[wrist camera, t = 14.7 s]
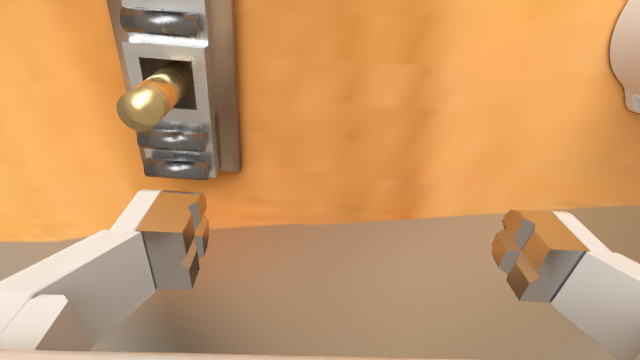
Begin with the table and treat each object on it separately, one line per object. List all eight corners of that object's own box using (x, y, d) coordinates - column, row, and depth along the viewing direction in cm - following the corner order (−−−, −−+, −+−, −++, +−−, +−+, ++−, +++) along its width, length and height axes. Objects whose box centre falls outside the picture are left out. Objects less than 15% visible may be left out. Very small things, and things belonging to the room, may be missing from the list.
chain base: (232, -51, 30) (228, -51, 29) (241, 165, 42) (239, 172, 40) (101, -64, 29) (92, -65, 28) (148, 160, 41) (143, 166, 40)
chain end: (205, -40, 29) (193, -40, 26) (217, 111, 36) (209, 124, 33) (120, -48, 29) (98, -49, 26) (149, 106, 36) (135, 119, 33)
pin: (193, 61, 34) (155, 94, 25) (196, 91, 35) (161, 132, 27) (162, 58, 33) (112, 91, 25) (166, 89, 35) (121, 129, 26)
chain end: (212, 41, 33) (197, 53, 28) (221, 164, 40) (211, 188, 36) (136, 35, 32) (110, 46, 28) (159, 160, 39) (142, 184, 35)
